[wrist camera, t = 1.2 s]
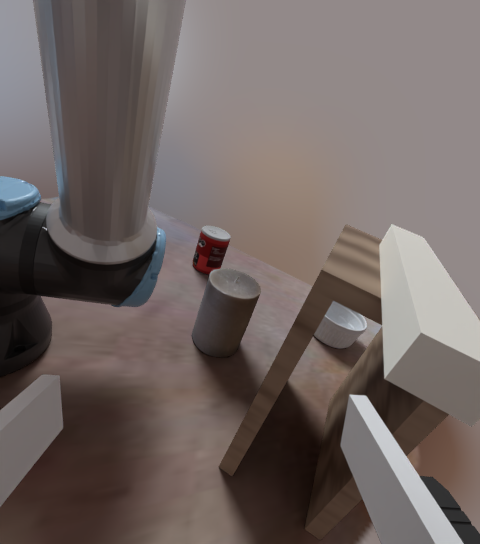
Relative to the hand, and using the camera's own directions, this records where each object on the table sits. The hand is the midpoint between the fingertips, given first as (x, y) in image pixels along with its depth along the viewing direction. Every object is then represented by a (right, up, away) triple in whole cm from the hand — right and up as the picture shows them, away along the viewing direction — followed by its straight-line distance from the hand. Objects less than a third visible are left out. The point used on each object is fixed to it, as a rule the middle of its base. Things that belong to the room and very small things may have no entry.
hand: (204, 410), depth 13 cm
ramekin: (+24, -9, +60) cm, 65 cm away
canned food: (-8, +7, +68) cm, 69 cm away
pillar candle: (-3, -7, +44) cm, 45 cm away
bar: (+16, +5, +12) cm, 21 cm away
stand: (+9, -18, +32) cm, 38 cm away
